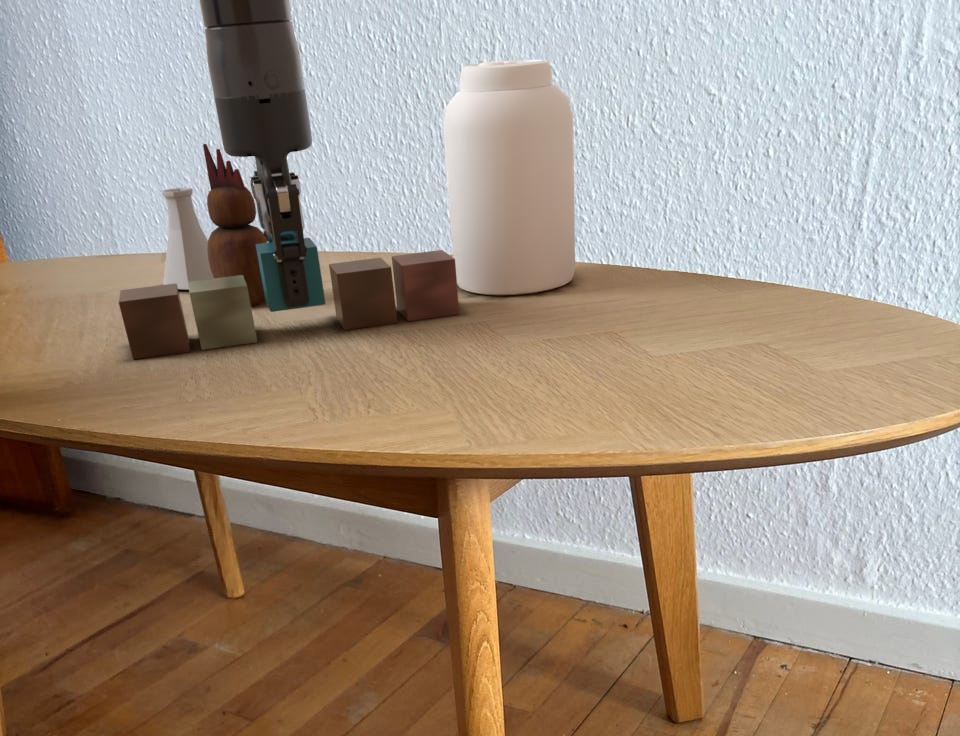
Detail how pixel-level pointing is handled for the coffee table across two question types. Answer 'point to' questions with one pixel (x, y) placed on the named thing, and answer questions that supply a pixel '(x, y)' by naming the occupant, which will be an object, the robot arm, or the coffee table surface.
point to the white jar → (510, 179)
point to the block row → (228, 313)
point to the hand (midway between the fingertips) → (293, 297)
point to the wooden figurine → (233, 227)
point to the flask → (184, 241)
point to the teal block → (273, 278)
